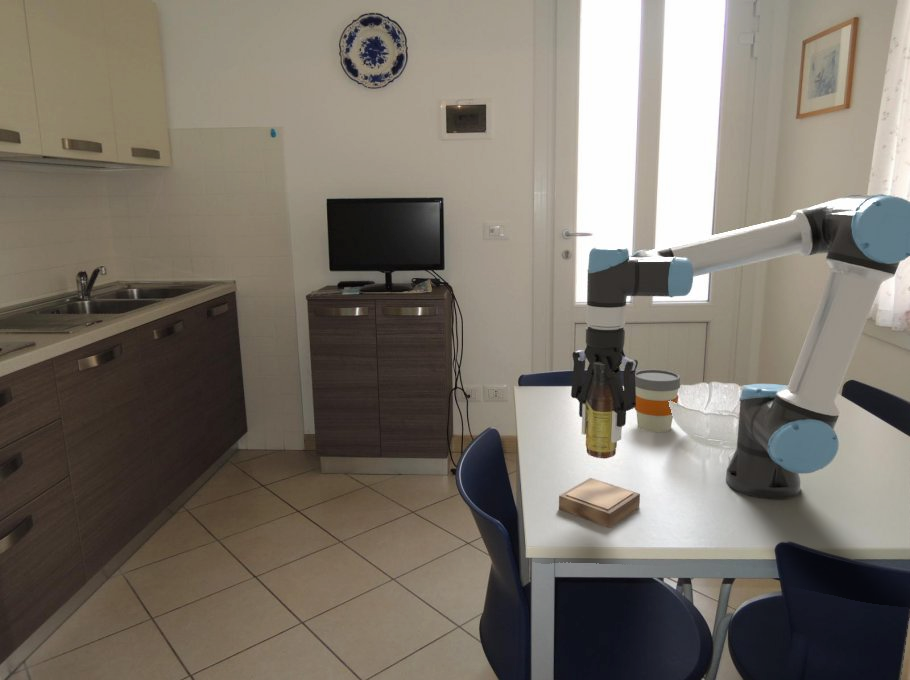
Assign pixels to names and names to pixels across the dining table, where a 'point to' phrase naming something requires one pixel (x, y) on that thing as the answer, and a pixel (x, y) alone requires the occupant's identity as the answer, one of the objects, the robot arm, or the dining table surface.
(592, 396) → the sauce bottle
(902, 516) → the dining table surface
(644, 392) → the reusable coffee cup
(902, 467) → the dining table surface
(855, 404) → the dining table surface
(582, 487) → the pedestal
